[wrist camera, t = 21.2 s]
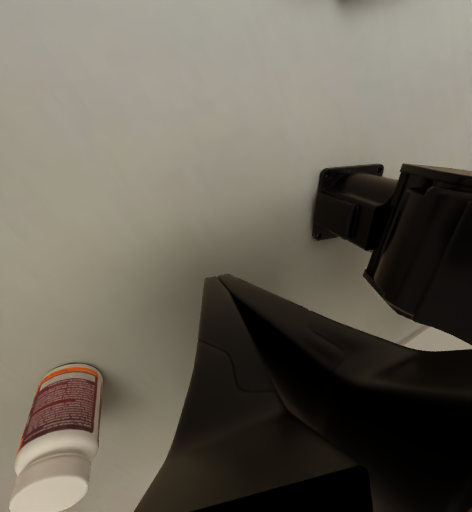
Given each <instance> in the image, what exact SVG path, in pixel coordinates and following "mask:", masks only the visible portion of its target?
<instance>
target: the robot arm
mask: <svg viewBox="0 0 472 512" xmlns="http://www.w3.org/2000/svg"><path fill="white" fill-rule="evenodd" d="M377 170H378V171H377ZM383 170H384V167H383V165H381V164H370V165H358V166H346V167H334V168H325V169H324V170H323V171H322V172H321V176H320V183H319V191H318V197H317V205H316V212H315V220H314V228H313V238H314V239H316V240H317V241H319V240H325V239H330V238H336V237H341V238H342V239H344V240H347V241H349V242H351V243H353V244H355V245H357V246H358V247H360V248H362V249H364V250H366V251H370V252H372V255H371V258H370V261H369V263H368V266H367V269H365V271H364V274H363V277H364V278H365V279H366V280H367V281H368V282H369V284H370V285H371V286H372V287H373V288H374V289H375V290H376V291H377V293H378V294H379V295H380V296H381V297H382V298H383V299H384V300H385V302H386V303H387V304H388V305H389V306H390V307H391V308H392V309H393V310H395V312H396V313H398V314H399V315H402V316H404V317H406V318H408V319H411V320H413V321H415V322H417V323H421V324H424V325H427V326H431V327H434V328H436V329H439V330H441V331H444V332H446V333H449V334H451V335H453V336H455V337H457V338H459V339H461V340H463V341H465V342H467V343H469V344H470V345H472V171H466V170H459V169H452V168H444V167H434V166H423V165H413V164H402V167H401V170H400V172H401V174H400V177H399V180H395V179H390V178H386V177H382V174H383ZM327 173H328V176H327V177H326V174H327ZM318 234H319V235H318ZM317 235H318V236H317ZM134 512H472V349H469V350H454V351H437V352H433V351H432V352H431V351H422V350H415V349H411V348H407V347H404V346H401V345H399V344H396V343H393V342H390V341H388V340H385V339H382V338H379V337H376V336H374V335H371V334H368V333H365V332H363V331H360V330H357V329H354V328H352V327H349V326H347V325H344V324H341V323H339V322H336V321H334V320H331V319H329V318H327V317H324V316H322V315H320V314H317V313H315V312H313V311H309V310H308V309H306V308H304V307H302V306H299V305H297V304H295V303H293V302H291V301H288V300H286V299H284V298H282V297H279V296H277V295H275V294H273V293H270V292H268V291H266V290H264V289H262V288H259V287H257V286H255V285H253V284H250V283H248V282H246V281H244V280H241V279H239V278H237V277H235V276H233V275H230V274H224V275H219V276H218V277H216V276H214V277H210V278H205V280H204V288H203V297H202V306H201V316H200V325H199V334H198V343H197V351H196V358H195V364H194V369H193V373H192V378H191V382H190V386H189V389H188V392H187V396H186V399H185V403H184V406H183V410H182V413H181V417H180V420H179V424H178V427H177V430H176V434H175V437H174V440H173V443H172V445H171V448H170V451H169V453H168V456H167V458H166V460H165V462H164V464H163V466H162V467H161V469H160V470H159V472H158V474H157V475H156V477H155V478H154V480H153V482H152V483H151V485H150V486H149V488H148V490H147V491H146V493H145V495H144V496H143V498H142V499H141V501H140V503H139V504H138V506H137V507H136V509H135V511H134Z"/></svg>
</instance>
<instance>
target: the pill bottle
mask: <svg viewBox="0 0 472 512" xmlns="http://www.w3.org/2000/svg"><path fill="white" fill-rule="evenodd" d="M102 385H103V379H102V376H101V374H100V372H99V371H98V370H97V369H96V368H94V367H92V366H90V365H86V364H69V365H64V366H61V367H58V368H55V369H53V370H51V371H50V372H48V373H47V374H46V375H45V376H44V377H43V378H42V380H41V381H40V383H39V386H38V389H37V392H36V395H35V398H34V401H33V404H32V408H31V411H30V414H29V417H28V420H27V423H26V427H25V430H24V433H23V436H22V439H21V443H20V446H19V449H18V452H17V456H16V459H15V465H14V466H15V472H16V474H17V475H18V477H17V479H16V481H15V483H14V487H13V491H12V495H11V499H10V503H9V509H10V511H11V512H61V511H63V510H65V509H67V508H69V507H71V506H73V505H74V504H75V503H77V502H78V501H79V500H81V499H82V498H83V496H84V495H85V494H86V492H87V490H88V486H89V478H90V465H91V464H90V463H91V462H92V461H93V459H94V457H95V455H96V453H97V450H98V447H99V429H100V415H101V400H102Z"/></svg>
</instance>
